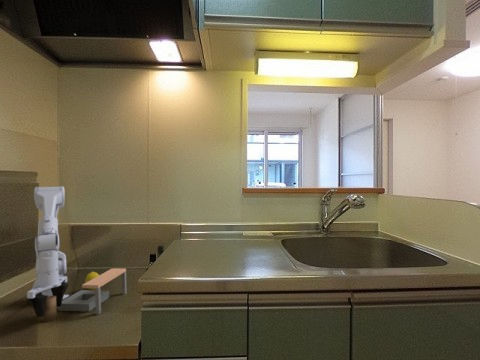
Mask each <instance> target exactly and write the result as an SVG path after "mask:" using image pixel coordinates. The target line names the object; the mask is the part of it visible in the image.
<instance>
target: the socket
mask: <svg viewBox="0 0 480 360" xmlns="http://www.w3.org/2000/svg"><path fill="white" fill-rule="evenodd" d="M108 298H110V290H101V304H102V303H103V302H104V301H107V300H108ZM93 309H96V305H95V290H90V289H87V290H85V289H84V290H83V289H80V290H79V291H77V292H75V293H74V294H72V295H71V296H70V295H69V296H68V297H66V298H65V299H63V300H62V304H61V306H60V307H57V311H58V312H59V311H61V312H62V311H64V312H90V311H92V310H93Z"/></svg>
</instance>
